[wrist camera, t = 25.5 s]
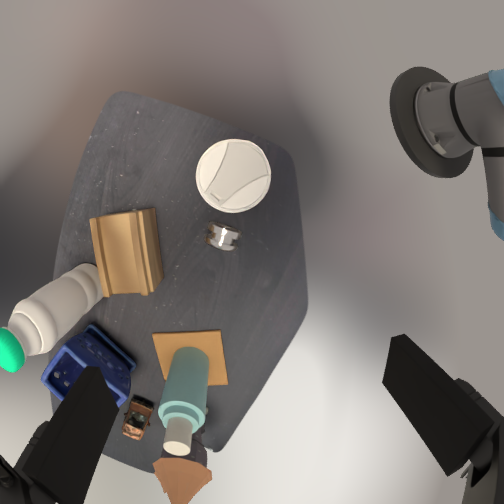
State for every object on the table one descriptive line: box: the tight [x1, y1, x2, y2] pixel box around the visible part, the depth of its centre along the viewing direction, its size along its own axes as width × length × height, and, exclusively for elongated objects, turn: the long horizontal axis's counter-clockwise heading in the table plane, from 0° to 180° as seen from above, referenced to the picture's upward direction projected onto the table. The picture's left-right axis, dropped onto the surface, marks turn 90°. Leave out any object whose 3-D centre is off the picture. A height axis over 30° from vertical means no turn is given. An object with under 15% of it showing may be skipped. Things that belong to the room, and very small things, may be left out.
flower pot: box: [41, 324, 136, 408], centre depth 38 cm, size 13×13×12 cm
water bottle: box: [0, 263, 103, 372], centre depth 29 cm, size 7×7×25 cm
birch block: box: [90, 208, 164, 297], centre depth 36 cm, size 8×11×8 cm
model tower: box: [153, 407, 212, 504], centre depth 34 cm, size 10×11×30 cm
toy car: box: [122, 399, 154, 440], centre depth 44 cm, size 6×12×7 cm, turn 160°
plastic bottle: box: [158, 347, 209, 456], centre depth 35 cm, size 20×7×7 cm
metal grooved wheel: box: [204, 221, 242, 252], centre depth 39 cm, size 5×3×5 cm, turn 70°
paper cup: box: [196, 139, 271, 213], centre depth 32 cm, size 8×8×14 cm
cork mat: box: [152, 330, 228, 385], centre depth 45 cm, size 12×12×1 cm
